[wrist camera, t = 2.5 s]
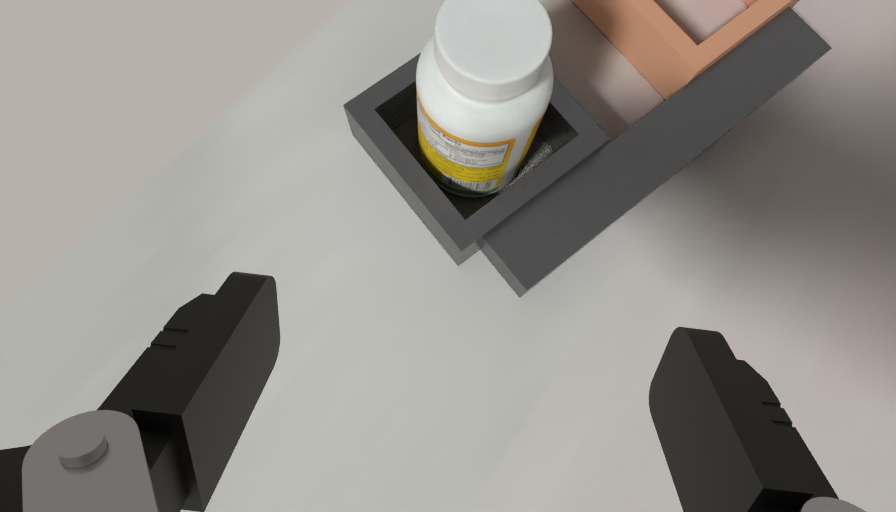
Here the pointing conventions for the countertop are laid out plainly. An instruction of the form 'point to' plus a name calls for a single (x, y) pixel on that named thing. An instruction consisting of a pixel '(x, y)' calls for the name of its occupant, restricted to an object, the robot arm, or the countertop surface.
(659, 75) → the marked socket
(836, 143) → the countertop surface
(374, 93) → the rail
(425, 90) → the supplement bottle
